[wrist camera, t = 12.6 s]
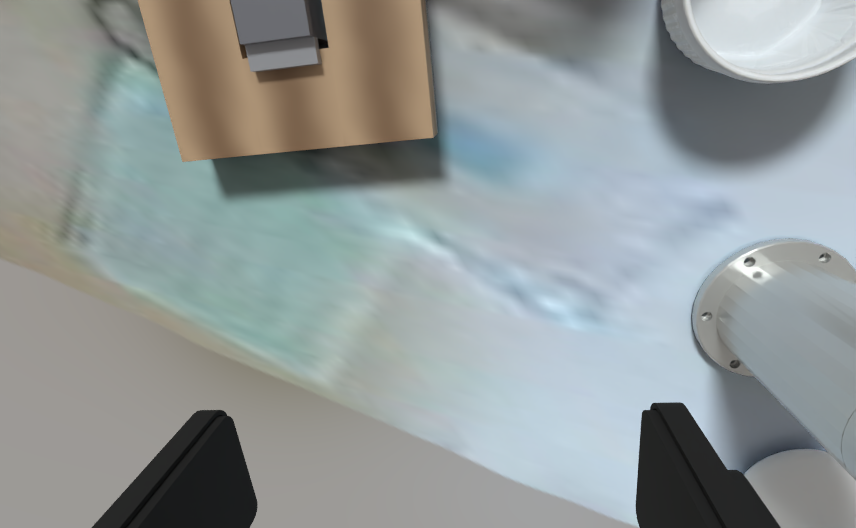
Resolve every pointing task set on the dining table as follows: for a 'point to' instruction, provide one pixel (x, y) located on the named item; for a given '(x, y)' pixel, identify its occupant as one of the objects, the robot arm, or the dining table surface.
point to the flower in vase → (805, 489)
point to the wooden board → (293, 80)
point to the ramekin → (764, 36)
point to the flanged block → (280, 32)
